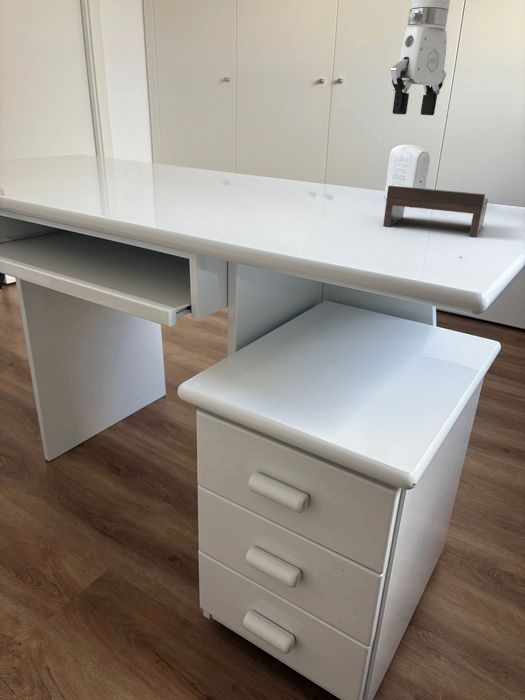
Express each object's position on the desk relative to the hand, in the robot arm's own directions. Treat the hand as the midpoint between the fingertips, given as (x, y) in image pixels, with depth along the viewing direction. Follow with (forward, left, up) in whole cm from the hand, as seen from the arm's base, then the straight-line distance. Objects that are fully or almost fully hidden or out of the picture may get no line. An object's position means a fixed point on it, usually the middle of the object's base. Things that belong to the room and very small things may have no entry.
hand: (413, 114), depth 115 cm
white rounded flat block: (0, 0, -19) cm, 19 cm away
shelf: (+17, +20, -18) cm, 32 cm away
